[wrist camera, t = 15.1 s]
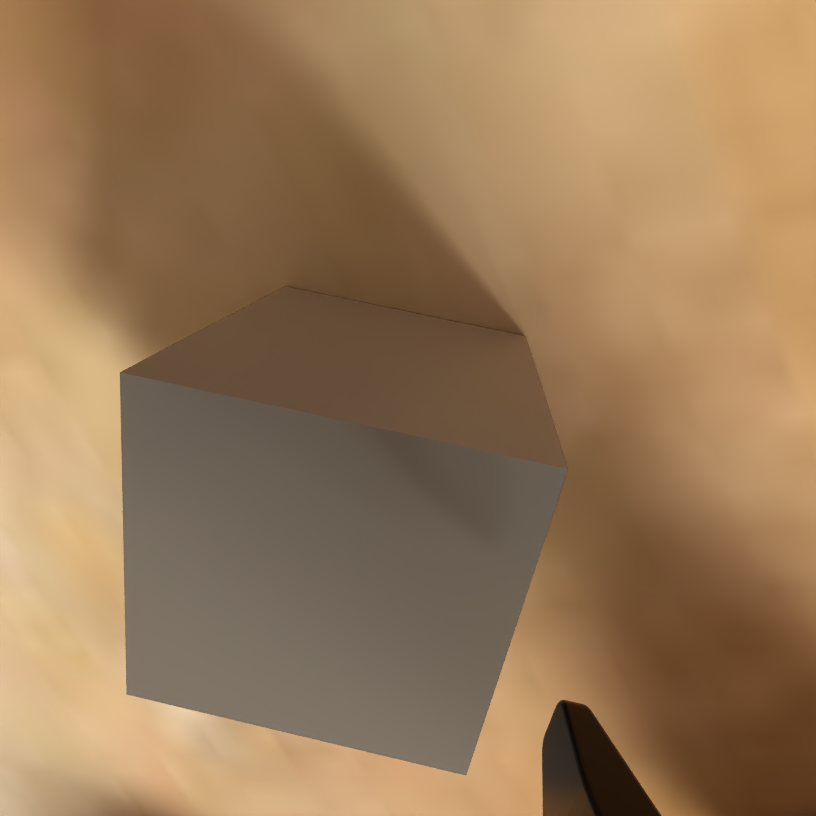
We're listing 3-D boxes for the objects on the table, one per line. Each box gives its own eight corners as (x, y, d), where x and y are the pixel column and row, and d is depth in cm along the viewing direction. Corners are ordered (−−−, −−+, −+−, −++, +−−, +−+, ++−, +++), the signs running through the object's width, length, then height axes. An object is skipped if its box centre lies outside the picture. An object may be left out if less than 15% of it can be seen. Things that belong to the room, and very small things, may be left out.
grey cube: (525, 336, 17) (567, 468, 9) (470, 538, 20) (466, 775, 12) (285, 286, 18) (119, 372, 9) (265, 493, 21) (126, 694, 12)
